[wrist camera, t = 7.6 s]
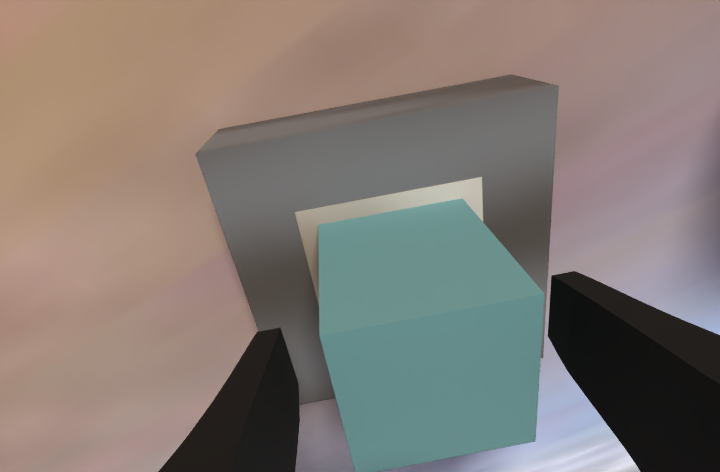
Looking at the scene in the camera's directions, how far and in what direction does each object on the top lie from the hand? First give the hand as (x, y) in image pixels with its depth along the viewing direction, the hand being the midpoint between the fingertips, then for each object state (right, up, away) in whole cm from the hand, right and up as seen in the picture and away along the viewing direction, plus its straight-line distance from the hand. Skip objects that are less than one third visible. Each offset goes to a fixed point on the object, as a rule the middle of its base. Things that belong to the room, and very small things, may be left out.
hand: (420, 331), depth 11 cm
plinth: (-1, +3, +5) cm, 6 cm away
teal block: (0, +1, +2) cm, 3 cm away
